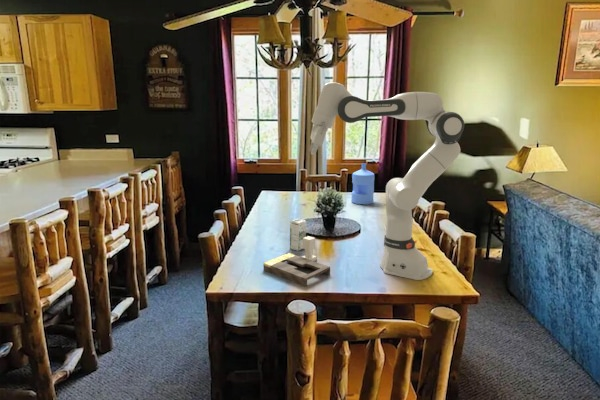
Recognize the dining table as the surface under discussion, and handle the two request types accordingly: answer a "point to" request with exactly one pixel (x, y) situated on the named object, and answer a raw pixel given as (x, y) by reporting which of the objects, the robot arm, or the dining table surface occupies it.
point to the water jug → (363, 186)
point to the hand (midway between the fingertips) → (311, 153)
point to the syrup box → (297, 234)
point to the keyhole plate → (294, 268)
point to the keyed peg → (309, 248)
